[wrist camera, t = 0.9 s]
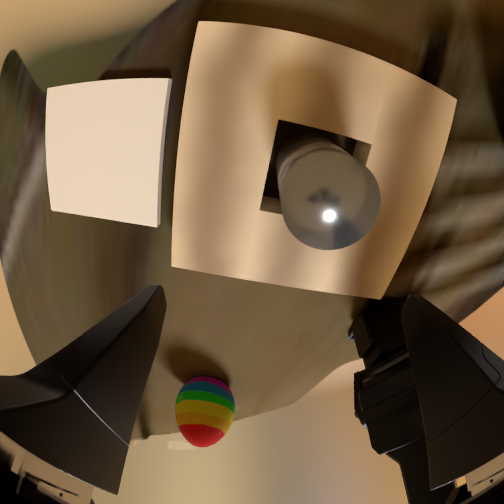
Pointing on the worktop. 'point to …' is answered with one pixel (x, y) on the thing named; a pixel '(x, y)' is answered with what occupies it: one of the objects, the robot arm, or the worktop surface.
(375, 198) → the metal part
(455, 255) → the worktop surface
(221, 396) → the decorative egg
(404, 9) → the worktop surface
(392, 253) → the pocket block
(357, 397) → the robot arm
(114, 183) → the ceramic tile
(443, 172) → the worktop surface
